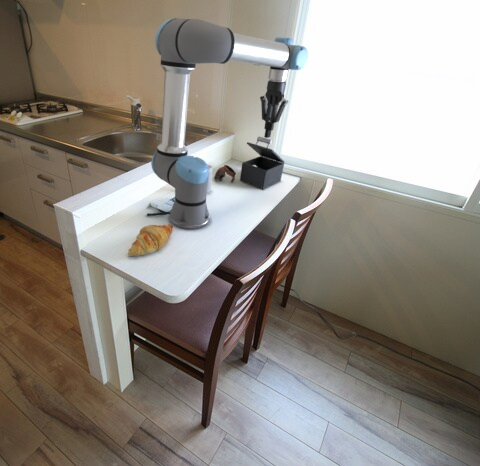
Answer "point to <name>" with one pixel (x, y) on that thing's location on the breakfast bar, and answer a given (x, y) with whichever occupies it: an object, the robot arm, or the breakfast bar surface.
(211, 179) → the beverage can
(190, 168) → the robot arm
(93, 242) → the breakfast bar surface
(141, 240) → the croissant
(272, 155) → the lid
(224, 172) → the broken terracotta ring
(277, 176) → the open cubby box
